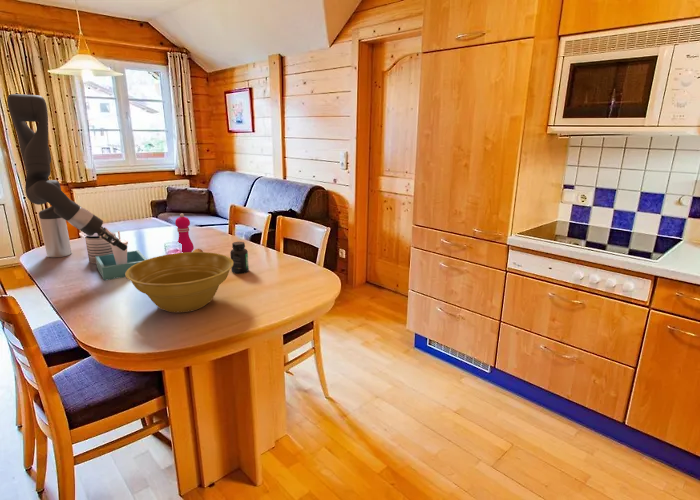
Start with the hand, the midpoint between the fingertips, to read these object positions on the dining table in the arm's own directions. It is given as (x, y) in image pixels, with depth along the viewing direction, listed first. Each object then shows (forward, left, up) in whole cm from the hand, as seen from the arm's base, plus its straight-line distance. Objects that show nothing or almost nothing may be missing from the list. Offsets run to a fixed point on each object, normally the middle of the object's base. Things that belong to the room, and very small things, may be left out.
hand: (124, 246), depth 166 cm
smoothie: (0, -2, -8) cm, 8 cm away
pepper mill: (-4, +24, -10) cm, 27 cm away
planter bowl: (+49, +8, -10) cm, 51 cm away
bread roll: (+17, +23, -10) cm, 30 cm away
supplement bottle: (+28, +36, -10) cm, 47 cm away
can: (-20, -6, -10) cm, 23 cm away
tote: (0, -2, -10) cm, 10 cm away
